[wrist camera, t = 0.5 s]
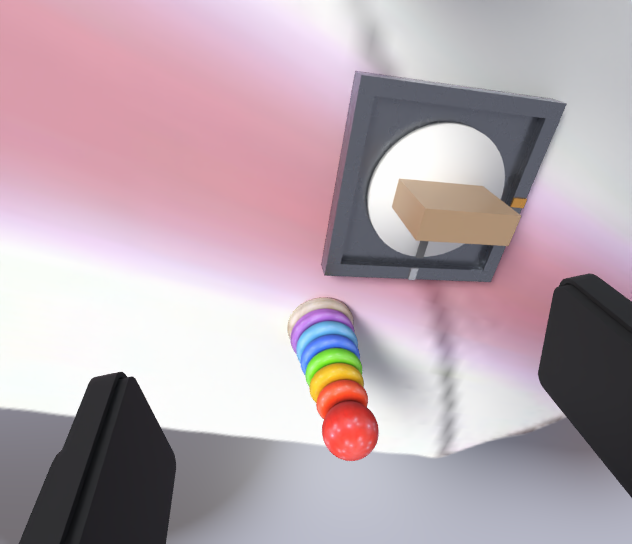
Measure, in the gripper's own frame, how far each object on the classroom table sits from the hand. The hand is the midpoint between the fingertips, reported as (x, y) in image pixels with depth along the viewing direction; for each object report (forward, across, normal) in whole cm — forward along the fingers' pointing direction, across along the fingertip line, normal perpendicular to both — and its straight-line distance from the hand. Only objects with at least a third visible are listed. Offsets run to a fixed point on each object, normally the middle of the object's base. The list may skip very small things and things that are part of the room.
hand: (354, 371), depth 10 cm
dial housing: (+34, -15, +11) cm, 39 cm away
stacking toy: (+34, -1, +26) cm, 43 cm away
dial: (+32, -15, +11) cm, 37 cm away
